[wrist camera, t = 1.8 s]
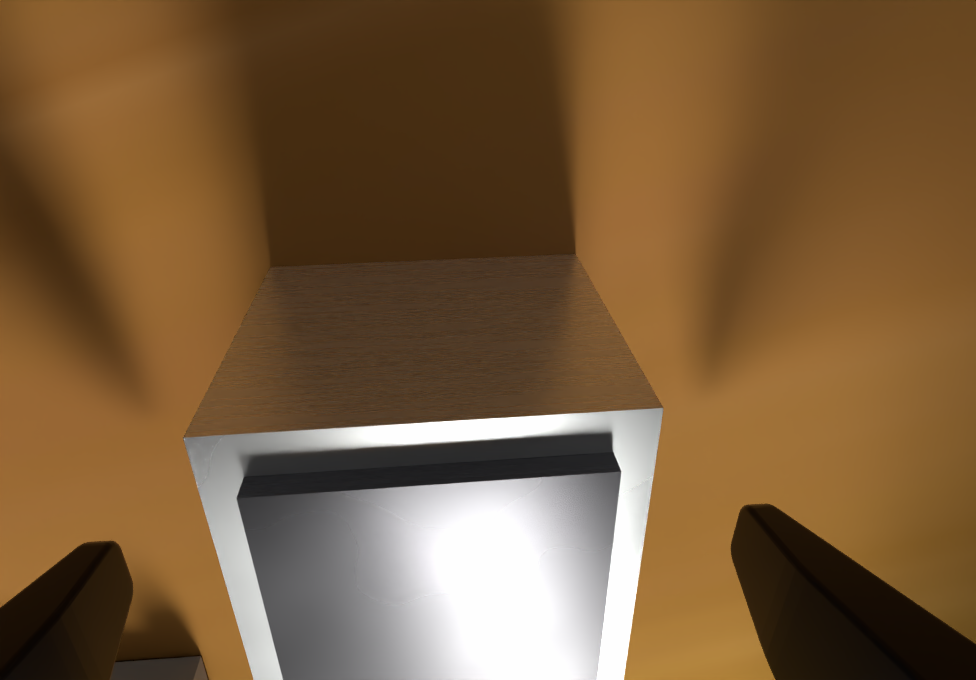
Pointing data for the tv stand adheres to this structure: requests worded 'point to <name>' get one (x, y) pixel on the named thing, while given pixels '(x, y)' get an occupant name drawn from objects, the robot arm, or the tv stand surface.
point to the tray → (160, 669)
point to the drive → (429, 472)
